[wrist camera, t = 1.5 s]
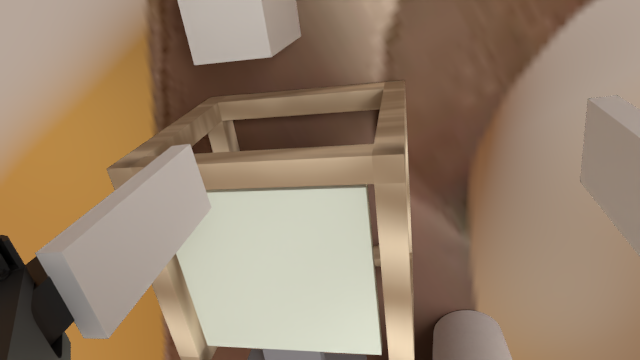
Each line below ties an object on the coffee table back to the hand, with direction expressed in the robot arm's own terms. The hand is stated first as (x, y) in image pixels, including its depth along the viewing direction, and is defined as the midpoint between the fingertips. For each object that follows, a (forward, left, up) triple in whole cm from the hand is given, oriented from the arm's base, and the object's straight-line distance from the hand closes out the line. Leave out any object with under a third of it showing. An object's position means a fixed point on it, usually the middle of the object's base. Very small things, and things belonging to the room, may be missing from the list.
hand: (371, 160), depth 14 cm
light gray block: (-5, -9, -19) cm, 22 cm away
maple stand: (+10, -7, -19) cm, 23 cm away
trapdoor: (+14, -7, -9) cm, 18 cm away
